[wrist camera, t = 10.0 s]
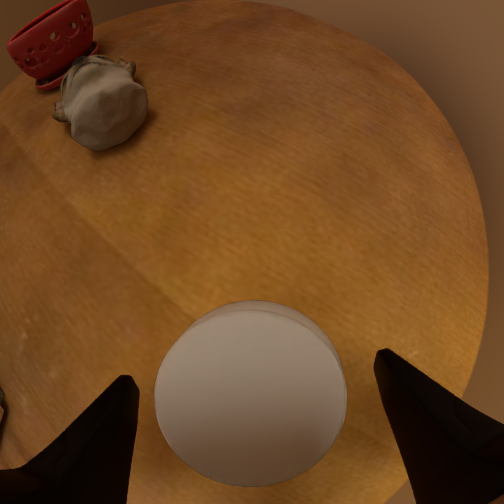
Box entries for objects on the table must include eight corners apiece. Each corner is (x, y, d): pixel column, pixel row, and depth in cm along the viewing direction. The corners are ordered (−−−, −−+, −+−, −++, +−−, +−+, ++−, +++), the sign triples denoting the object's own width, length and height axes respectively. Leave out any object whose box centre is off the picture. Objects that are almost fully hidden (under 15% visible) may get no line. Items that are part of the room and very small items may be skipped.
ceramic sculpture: (28, 125, 13) (29, 73, 18) (85, 191, 21) (61, 121, 26) (158, 40, 15) (110, 20, 20) (185, 122, 23) (132, 74, 28)
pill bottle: (258, 437, 15) (246, 542, 4) (188, 369, 16) (83, 386, 6) (330, 369, 16) (421, 390, 6) (259, 301, 18) (248, 227, 7)
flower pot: (119, 52, 30) (93, -11, 18) (44, 108, 27) (4, 50, 16) (93, 41, 33) (71, -8, 22) (33, 85, 31) (3, 40, 19)
